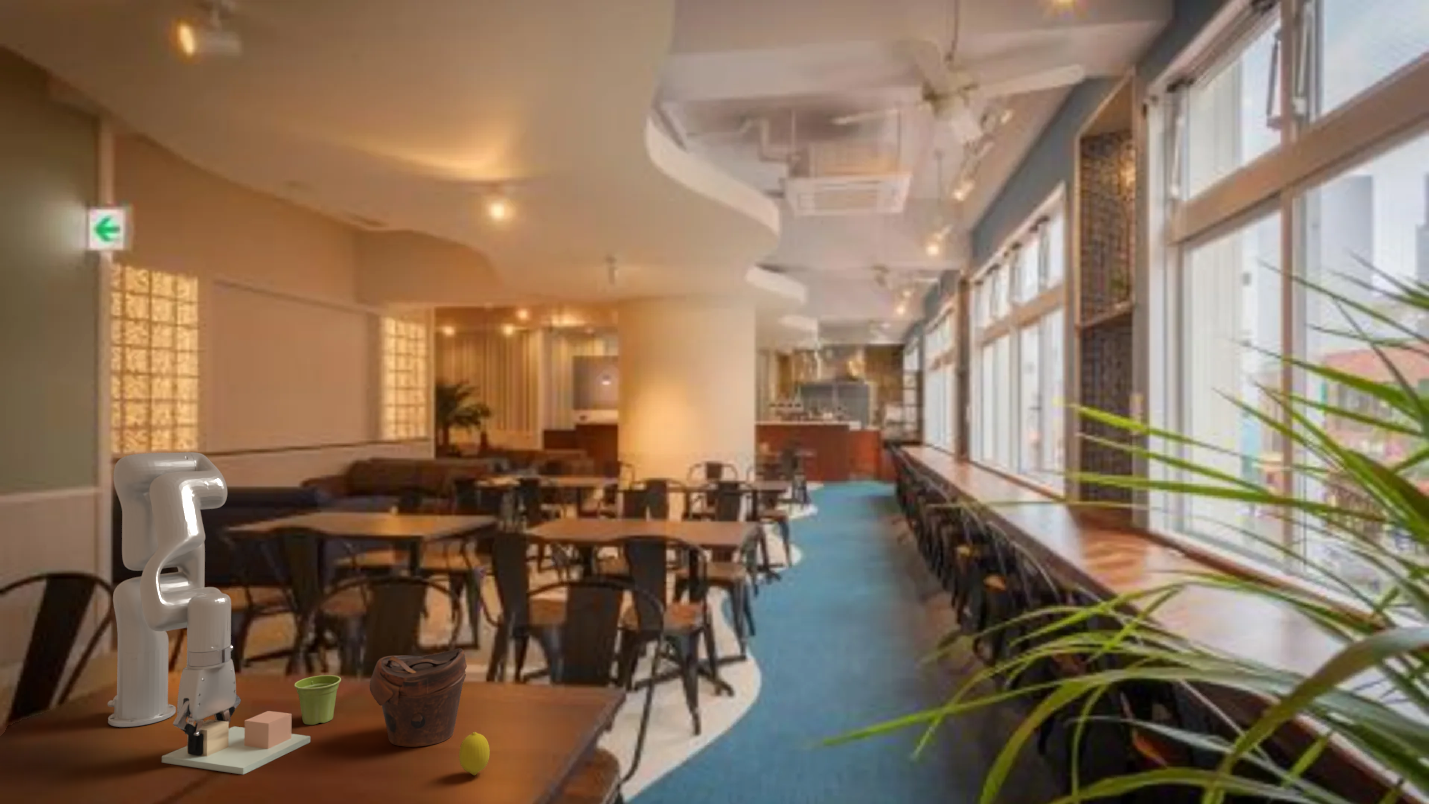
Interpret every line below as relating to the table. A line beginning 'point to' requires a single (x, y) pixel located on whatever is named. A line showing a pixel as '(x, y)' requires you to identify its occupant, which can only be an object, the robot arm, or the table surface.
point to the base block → (267, 729)
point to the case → (419, 696)
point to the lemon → (474, 753)
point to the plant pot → (317, 698)
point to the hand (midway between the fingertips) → (208, 748)
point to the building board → (236, 754)
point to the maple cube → (214, 736)
